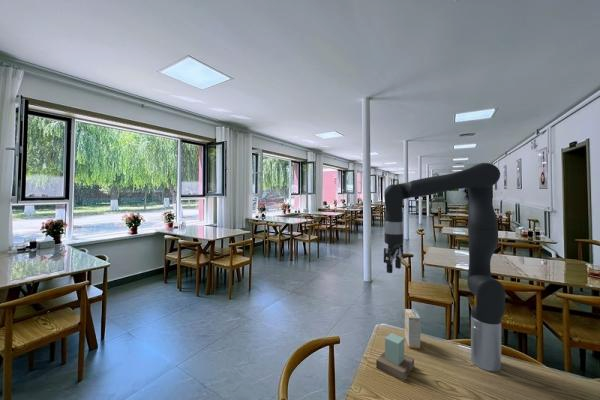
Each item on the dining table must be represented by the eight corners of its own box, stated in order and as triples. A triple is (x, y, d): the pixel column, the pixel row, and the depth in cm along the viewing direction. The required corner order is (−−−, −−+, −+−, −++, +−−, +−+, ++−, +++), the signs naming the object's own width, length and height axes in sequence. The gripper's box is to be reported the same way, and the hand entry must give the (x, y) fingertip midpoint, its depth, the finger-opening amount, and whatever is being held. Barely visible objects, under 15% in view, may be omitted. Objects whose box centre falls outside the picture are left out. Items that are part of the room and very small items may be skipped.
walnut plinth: (388, 355, 102) (388, 347, 102) (414, 366, 95) (414, 358, 95) (376, 367, 94) (376, 359, 94) (403, 381, 88) (403, 372, 87)
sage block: (391, 353, 98) (391, 332, 98) (404, 359, 95) (404, 338, 94) (385, 359, 95) (385, 338, 94) (398, 365, 91) (398, 343, 91)
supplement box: (421, 349, 105) (421, 318, 105) (408, 348, 106) (408, 317, 106) (416, 338, 113) (416, 309, 113) (404, 337, 114) (404, 308, 114)
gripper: (395, 235, 99) (395, 276, 100) (409, 231, 110) (409, 268, 110) (377, 233, 104) (377, 272, 105) (392, 229, 115) (392, 265, 115)
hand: (394, 270), depth 107 cm, fingers open, 8 cm apart
